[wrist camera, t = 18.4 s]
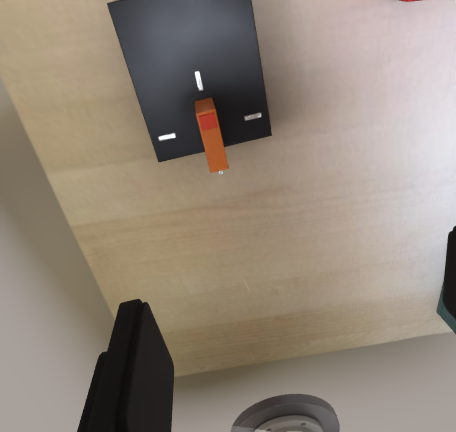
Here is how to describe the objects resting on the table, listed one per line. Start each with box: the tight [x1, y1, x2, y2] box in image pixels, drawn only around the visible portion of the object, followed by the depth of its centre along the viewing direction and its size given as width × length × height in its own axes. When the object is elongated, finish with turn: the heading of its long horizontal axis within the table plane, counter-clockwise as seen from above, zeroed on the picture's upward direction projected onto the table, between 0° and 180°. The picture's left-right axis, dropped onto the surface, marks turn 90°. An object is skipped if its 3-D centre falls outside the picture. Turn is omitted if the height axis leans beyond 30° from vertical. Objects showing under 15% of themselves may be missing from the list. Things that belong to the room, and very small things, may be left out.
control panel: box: [107, 0, 272, 175], centre depth 29 cm, size 14×10×3 cm
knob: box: [195, 98, 229, 173], centre depth 27 cm, size 4×1×5 cm, turn 12°
